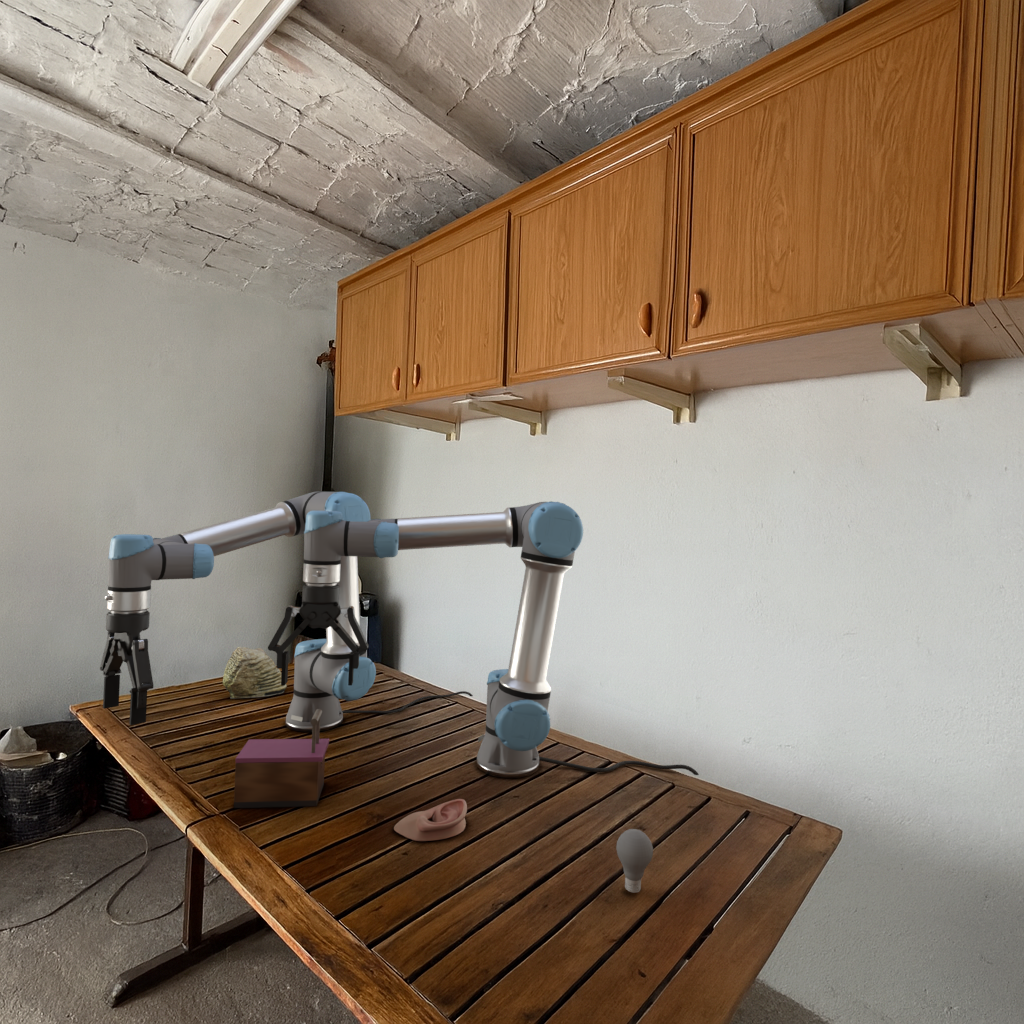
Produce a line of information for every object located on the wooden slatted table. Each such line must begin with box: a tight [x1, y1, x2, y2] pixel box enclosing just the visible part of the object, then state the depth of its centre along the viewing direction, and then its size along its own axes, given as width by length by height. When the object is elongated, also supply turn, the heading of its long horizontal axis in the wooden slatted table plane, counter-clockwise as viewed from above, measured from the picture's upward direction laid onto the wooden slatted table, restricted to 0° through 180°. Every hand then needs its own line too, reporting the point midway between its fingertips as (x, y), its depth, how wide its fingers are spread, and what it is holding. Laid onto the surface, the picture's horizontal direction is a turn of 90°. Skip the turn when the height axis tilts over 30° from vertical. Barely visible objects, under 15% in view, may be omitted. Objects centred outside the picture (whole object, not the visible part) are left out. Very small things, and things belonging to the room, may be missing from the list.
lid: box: [235, 709, 330, 764], centre depth 133 cm, size 17×10×8 cm, turn 98°
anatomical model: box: [393, 798, 468, 842], centre depth 123 cm, size 13×4×12 cm
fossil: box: [222, 646, 288, 699], centre depth 198 cm, size 9×18×15 cm, turn 132°
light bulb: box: [615, 828, 654, 894], centre depth 106 cm, size 6×6×10 cm
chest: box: [233, 754, 326, 809], centre depth 133 cm, size 16×10×9 cm, turn 98°
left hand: (123, 715), depth 129 cm, fingers open, 13 cm apart
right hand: (317, 683), depth 134 cm, fingers open, 13 cm apart
